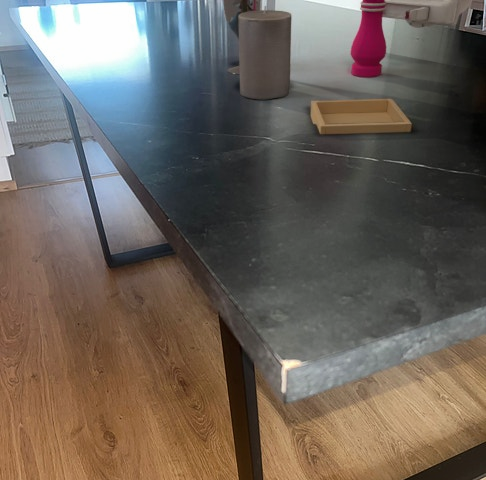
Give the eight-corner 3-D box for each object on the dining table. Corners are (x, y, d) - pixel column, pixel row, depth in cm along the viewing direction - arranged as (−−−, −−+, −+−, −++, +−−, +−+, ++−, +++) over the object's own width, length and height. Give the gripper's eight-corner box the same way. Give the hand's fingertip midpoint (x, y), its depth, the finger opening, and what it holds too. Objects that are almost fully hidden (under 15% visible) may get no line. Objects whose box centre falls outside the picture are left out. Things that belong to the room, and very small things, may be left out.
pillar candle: (250, 84, 107) (248, 1, 99) (296, 88, 104) (299, 2, 96) (232, 97, 100) (228, 9, 91) (281, 102, 97) (282, 11, 88)
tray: (389, 113, 90) (391, 98, 89) (409, 140, 80) (412, 123, 78) (310, 116, 90) (311, 100, 89) (319, 143, 80) (320, 126, 78)
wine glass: (266, 67, 118) (267, -9, 109) (252, 76, 112) (251, -4, 104) (235, 64, 121) (232, -10, 112) (219, 72, 115) (215, -5, 106)
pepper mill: (341, 73, 112) (350, -36, 100) (363, 67, 116) (374, -39, 104) (368, 80, 108) (380, -35, 96) (390, 73, 111) (405, -38, 100)
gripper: (385, -15, 120) (348, -8, 113) (470, -9, 108) (435, -1, 100) (381, 16, 124) (345, 24, 116) (463, 25, 112) (429, 35, 104)
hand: (388, 13), depth 108 cm, fingers open, 8 cm apart
